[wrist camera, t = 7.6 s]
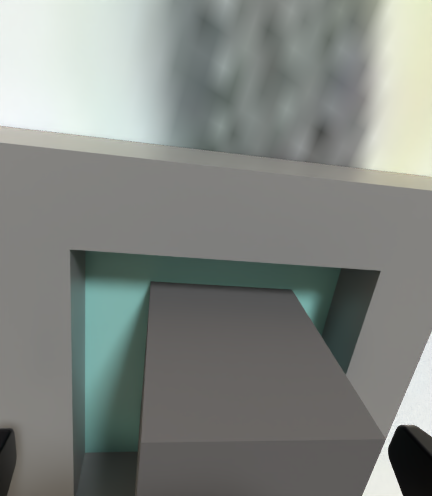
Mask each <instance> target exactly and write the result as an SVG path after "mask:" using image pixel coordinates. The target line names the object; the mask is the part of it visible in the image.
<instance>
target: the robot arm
mask: <svg viewBox="0 0 432 496" xmlns="http://www.w3.org/2000/svg"><path fill="white" fill-rule="evenodd" d="M388 455H389V459H390V462H391V465H392V467H393V470H394V473H395V475H396V478H397V481H398V483H399V486H400V489H401V491H402V494H403V496H432V437H431V436H430V435H428V434H427V433H426V432H424V431H423V430H421V429H420V428H419V427H417V426H415V425H400V426H398V427H397V429H396V431H395V433H394V436H393V438H392V440H391V443H390V445H389V448H388ZM16 460H17V452H16V441H15V432H14V430H13V429H12V428H0V496H7V494H8V491H9V487H10V484H11V480H12V477H13V473H14V470H15V466H16Z"/></svg>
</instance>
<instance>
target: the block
mask: <svg viewBox="0 0 432 496" xmlns="http://www.w3.org/2000/svg"><path fill="white" fill-rule="evenodd" d="M385 440H386V439H385V437H384V435H383V434H382V432H381V431H380V429H379V427H378V426H377V424H376V423H375V421H374V419H373V418H372V416H371V415H370V413H369V411H368V410H367V408H366V407H365V405H364V404H363V402H362V400H361V399H360V397H359V396H358V394H357V392H356V391H355V389H354V388H353V386H352V384H351V383H350V381H349V380H348V378H347V376H346V375H345V373H344V372H343V370H342V368H341V367H340V365H339V364H338V362H337V361H336V359H335V357H334V356H333V354H332V353H331V351H330V349H329V348H328V346H327V345H326V343H325V341H324V340H323V338H322V337H321V335H320V333H319V332H318V330H317V329H316V327H315V326H314V324H313V322H312V321H311V319H310V318H309V316H308V314H307V313H306V311H305V310H304V308H303V306H302V305H301V303H300V302H299V300H298V298H297V297H296V295H295V294H294V292H293V291H292V289H275V288H258V287H241V286H224V285H206V284H189V283H172V282H155V281H151V284H150V296H149V309H148V322H147V335H146V347H145V360H144V373H143V385H142V398H141V411H140V424H139V439H138V454H137V469H136V483H135V496H362V494H363V492H364V489H365V487H366V485H367V482H368V480H369V478H370V475H371V473H372V471H373V468H374V466H375V464H376V461H377V459H378V456H379V454H380V452H381V449H382V447H383V445H384V442H385Z"/></svg>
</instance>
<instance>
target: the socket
mask: <svg viewBox="0 0 432 496" xmlns="http://www.w3.org/2000/svg"><path fill="white" fill-rule="evenodd" d="M151 281H155V282H172V283H189V284H206V285H224V286H241V287H258V288H275V289H292V291H293V292H294V294H295V295H296V297H297V298H298V300H299V302H300V303H301V305H302V306H303V308H304V310H305V311H306V313H307V314H308V316H309V318H310V319H311V321H312V322H313V324H314V326H315V327H316V329H317V330H318V332H319V333H320V335H321V337H322V338H323V340H324V341H325V343H326V345H327V346H328V348H329V349H330V351H331V353H332V354H333V356H334V357H335V359H336V361H337V362H338V364H339V365H340V367H341V368H342V370H343V372H344V373H345V375H346V376H347V378H348V380H349V381H350V383H351V384H352V386H353V388H354V389H355V391H356V392H357V394H358V396H359V397H360V399H361V400H362V402H363V404H364V405H365V407H366V408H367V410H368V411H369V413H370V415H371V416H372V418H373V419H374V421H375V423H376V424H377V426H378V427H379V429H380V431H381V432H382V434H383V435H384V437H385V439H386V438H387V435H388V433H389V430H390V428H391V426H392V423H393V421H394V419H395V416H396V414H397V412H398V409H399V407H400V405H401V402H402V400H403V397H404V395H405V393H406V390H407V388H408V386H409V383H410V381H411V379H412V376H413V374H414V371H415V369H416V367H417V364H418V362H419V360H420V357H421V355H422V353H423V350H424V348H425V345H426V343H427V341H428V338H429V336H430V334H431V331H432V177H427V176H419V175H411V174H402V173H394V172H385V171H377V170H368V169H360V168H351V167H343V166H334V165H326V164H318V163H309V162H301V161H292V160H284V159H275V158H267V157H258V156H250V155H242V154H233V153H225V152H216V151H208V150H199V149H191V148H182V147H174V146H165V145H157V144H149V143H140V142H132V141H123V140H115V139H106V138H98V137H89V136H81V135H73V134H64V133H56V132H47V131H39V130H30V129H22V128H13V127H5V126H0V428H12V429H13V430H14V432H15V441H16V452H17V460H16V466H15V470H14V473H13V477H12V480H11V484H10V487H9V491H8V494H7V496H135V483H136V469H137V454H138V439H139V424H140V411H141V398H142V385H143V373H144V360H145V347H146V335H147V322H148V309H149V296H150V284H151ZM364 490H365V489H364Z"/></svg>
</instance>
